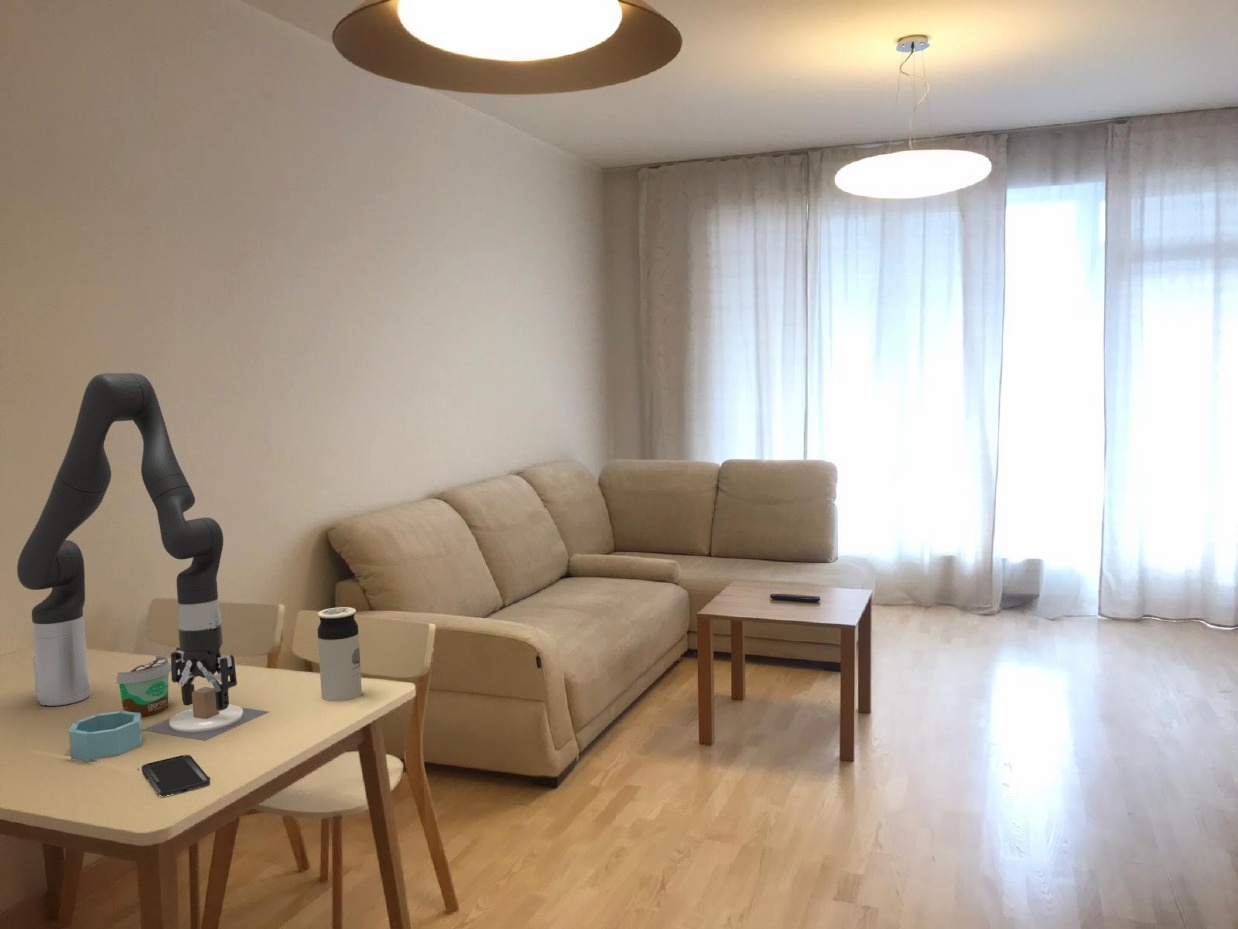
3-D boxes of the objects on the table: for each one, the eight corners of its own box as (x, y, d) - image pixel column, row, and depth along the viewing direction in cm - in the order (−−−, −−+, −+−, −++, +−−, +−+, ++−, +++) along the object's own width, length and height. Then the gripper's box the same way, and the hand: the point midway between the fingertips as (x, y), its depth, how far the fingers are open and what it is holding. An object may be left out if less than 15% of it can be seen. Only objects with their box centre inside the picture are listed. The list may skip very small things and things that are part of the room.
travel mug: (313, 702, 198) (308, 614, 197) (337, 689, 206) (332, 605, 204) (346, 705, 195) (341, 617, 194) (369, 693, 203) (365, 607, 201)
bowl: (58, 756, 173) (56, 729, 172) (113, 734, 183) (111, 708, 182) (102, 765, 168) (100, 736, 168) (155, 742, 179) (153, 715, 178)
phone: (188, 753, 171) (211, 780, 159) (189, 760, 171) (211, 787, 159) (139, 765, 166) (158, 794, 154) (140, 771, 166) (159, 800, 154)
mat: (141, 733, 183) (141, 730, 183) (208, 705, 198) (208, 702, 198) (205, 743, 177) (205, 740, 177) (269, 714, 192) (269, 711, 191)
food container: (147, 725, 188) (143, 674, 187) (119, 723, 189) (115, 673, 188) (188, 703, 200) (184, 655, 199) (161, 702, 201) (157, 654, 200)
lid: (153, 728, 184) (151, 697, 184) (207, 706, 196) (205, 677, 195) (205, 736, 179) (203, 704, 178) (257, 713, 191) (255, 683, 190)
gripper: (156, 625, 185) (162, 709, 187) (212, 631, 179) (218, 717, 181) (188, 616, 192) (193, 697, 193) (243, 621, 186) (248, 704, 188)
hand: (205, 706), depth 187 cm, fingers open, 8 cm apart
